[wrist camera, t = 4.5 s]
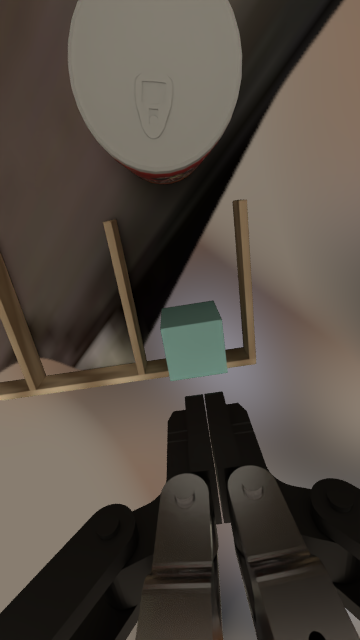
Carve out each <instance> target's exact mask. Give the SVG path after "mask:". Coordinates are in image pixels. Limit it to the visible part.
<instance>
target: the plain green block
mask: <svg viewBox="0 0 360 640" xmlns="http://www.w3.org/2000/svg"><path fill="white" fill-rule="evenodd" d="M160 328H161V329H160V330H161V335H162V340H163V345H164V350H165V355H166V361H167V366H168V371H169V376H170V381H175V380H182V379H189V378H195V377H202V376H209V375H215V374H222V373H227V362H226V353H225V344H224V335H223V326H222V319H221V317H220V314H219V312H218V310H217V308H216V305H215V303H214V301H207V302H201V303H194V304H188V305H181V306H175V307H168V308H163V309H162V314H161V327H160Z"/></svg>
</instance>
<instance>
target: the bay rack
mask: <svg viewBox="0 0 360 640" xmlns="http://www.w3.org/2000/svg"><path fill="white" fill-rule="evenodd" d="M233 212H234V213H233V214H234V226H235V240H236V253H237V267H238V280H239V294H240V307H241V319H242V334H243V347H241V348H234V349H228V350H225V353H226V362H227V368H230V367H238V366H245V365H251V364H256V351H255V335H254V317H253V299H252V282H251V265H250V249H249V230H248V213H247V200H235V201H233ZM103 224H104V228H105V233H106V237H107V241H108V245H109V250H110V254H111V258H112V263H113V267H114V271H115V276H116V280H117V284H118V288H119V293H120V297H121V301H122V306H123V310H124V314H125V318H126V323H127V327H128V331H129V336H130V340H131V344H132V349H133V353H134V357H135V361H136V363H131V364H124V365H117V366H110V367H104V368H97V369H90V370H83V371H76V372H69V373H63V374H55V375H48V376H46V374H45V371H44V369H43V366H42V363H41V360H40V358H39V355H38V352H37V350H36V347H35V344H34V342H33V339H32V336H31V333H30V331H29V328H28V325H27V323H26V320H25V317H24V315H23V312H22V309H21V306H20V304H19V301H18V298H17V296H16V293H15V290H14V287H13V285H12V282H11V279H10V277H9V274H8V271H7V269H6V266H5V263H4V260H3V258H2V255H1V252H0V318H1V320H2V323H3V325H4V328H5V330H6V333H7V335H8V338H9V340H10V343H11V345H12V348H13V350H14V353H15V355H16V357H17V360H18V362H19V365H20V367H21V370H22V372H23V375H24V377H25V379H21V380H15V381H7V382H0V401H1V400H8V399H15V398H22V397H29V396H36V395H43V394H49V393H57V392H64V391H70V390H78V389H85V388H92V387H99V386H105V385H113V384H119V383H126V382H133V381H140V380H147V379H154V378H161V377H168V376H169V371H168V366H167V361H166V359H159V360H152V361H147V360H146V355H145V350H144V346H143V341H142V336H141V332H140V327H139V323H138V318H137V313H136V309H135V304H134V299H133V295H132V290H131V286H130V281H129V276H128V272H127V267H126V262H125V258H124V253H123V249H122V244H121V239H120V235H119V230H118V225H117V221H116V219H115V220H109V221H106V222H103Z"/></svg>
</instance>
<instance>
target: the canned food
mask: <svg viewBox="0 0 360 640" xmlns="http://www.w3.org/2000/svg"><path fill="white" fill-rule="evenodd" d="M68 68H69V75H70V81H71V87H72V90H73V94H74V97H75V100H76V103H77V107H78V109H79V111H80V113H81V115H82V117H83V119H84V121H85V123H86V125H87V127H88V129H89V130H90V132H91V133H92V135H93V136H94V137H95V139H96V140H97V142H98V143H99V144H100V145H101V146H102V147H103V148H104V149H105V150H106V151H107V152H108V153H109V154H110V155H111V156H112V157H113V158H114V159H115V160H116V161H118V162H119V163H120V164H122V165H123V166H125V167H126V168H127V169H129V170H130V171H131V172H133V173H134V174H136V175H137V176H139V177H140V178H142V179H144V180H146V181H149V182H151V183H157V184H170V183H174V182H177V181H180V180H182V179H184V178H185V177H187V176H188V175H190V174H191V173H192V172H193V171H194V170H195V169H196V168H197V167H198V166H199V165H200V163H201V162H202V161H203V160H204V159H205V158H206V156H207V155H208V154H209V153H210V151H211V150H212V149H213V148H214V146H215V145H216V144H217V143H218V141H219V139H220V138H221V137H222V135H223V133H224V131H225V129H226V127H227V126H228V124H229V122H230V120H231V117H232V114H233V111H234V108H235V105H236V102H237V99H238V93H239V88H240V82H241V74H242V51H241V43H240V35H239V30H238V27H237V23H236V20H235V16H234V13H233V10H232V8H231V6H230V4H229V1H228V0H78V2H77V5H76V8H75V11H74V14H73V17H72V21H71V27H70V33H69V39H68Z"/></svg>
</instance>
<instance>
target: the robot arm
mask: <svg viewBox="0 0 360 640" xmlns="http://www.w3.org/2000/svg"><path fill="white" fill-rule="evenodd" d="M205 403H206V410H207V417H206V411H205V405H204V398H203V394H201V395H194V396H186V397H185V406H186V410H182V411H174V412H173V413H172V415H171V417H170V418H169V420H168V438H167V439H168V440H167V442H168V444H167V480H166V484H165V485H164V487H163V489H162V492H161V494H160V495H159V496H158V497H157V498H156V499H155V500H154V501H152V502H151V503H149V504H147V505H145V506H143V507H141V508H139V509H137V510H134V511H131V509H129V508H128V507H127V506H125V505H122V504H111V505H108V506H106V507H103V508H102V509H100V510H99V511H97V512H96V513H95V514H94V515H93V516H92V517H91V518H90V519H89V520H88V521H87V522H86V523H85V524H84V526H82V528H81V529H80V530H79V531H78V532H77V533H76V534H75V535H74V536H73V537H72V538H71V539H70V540H69V541H68V542H67V543H66V544H65V545H64V547H63V548H62V549H61V550H60V551H59V552H58V553H57V554H56V555H55V556H54V557H53V558H52V559H51V560H50V561H49V563H47V565H46V566H45V567H44V568H43V569H42V570H41V571H40V572H39V573H38V574H37V575H36V576H35V577H34V578H33V579H32V580H31V581H30V583H29V584H28V585H27V586H26V587H25V588H24V589H23V590H22V591H21V592H20V593H19V594H18V596H16V597H15V598H14V599H13V601H12V602H11V603H10V604H9V605H8V606H7V607H6V608H5V609H4V610H3V611H2V612H1V613H0V640H126V639H127V637H128V636H129V634H130V632H131V631H132V629H133V628H134V626H135V625H136V623H137V621H138V625H137V632H136V640H223V630H222V613H221V596H220V580H219V563H218V535H217V528H216V524H222V519H221V512H220V504H219V497H218V489H217V482H218V487H219V494H220V500H221V507H222V512H223V519H224V523H231V526H232V532H233V537H234V545H235V552H236V556H237V560H238V564H239V568H240V572H241V576H242V580H243V584H244V588H245V592H246V596H247V600H248V604H249V608H250V612H251V616H252V620H253V624H254V628H255V632H256V637H257V640H360V638H359V636H358V634H357V632H356V630H355V627H354V625H353V624H352V621H351V619H350V617H349V615H348V613H347V611H346V609H347V610H349V611H350V612H351V613H352V614H353V615H354V616H355V617H356V618H357V619H359V620H360V489H358V488H357V487H355V486H353V485H352V484H349V483H348V482H345V481H343V480H339V479H333V478H327V479H323V480H320V481H318V482H317V483H315V484H314V485H313V487H312V489H307V488H301V487H296V486H291V485H288V484H285V483H283V482H281V481H279V480H278V479H276V478H275V477H274V476H273V475H272V474H271V473H270V472H269V470H268V469H267V467H266V464H265V461H264V459H263V456H262V453H261V450H260V447H259V445H258V442H257V439H256V436H255V434H254V431H253V428H252V425H251V423H250V419H249V417H248V414H247V411H246V410H245V409H244V408H243V407H242V406H241V405H240V404H239V403H233V404H226V403H225V399H224V396H223V392H215V393H208V394H205ZM207 418H208V423H207ZM208 424H209V430H208ZM209 432H210V437H209ZM210 439H211V442H210ZM211 445H212V448H211ZM212 451H213V455H212ZM213 457H214V461H213ZM214 463H215V467H214ZM215 470H216V474H215ZM216 476H217V482H216ZM345 608H346V609H345Z"/></svg>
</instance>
